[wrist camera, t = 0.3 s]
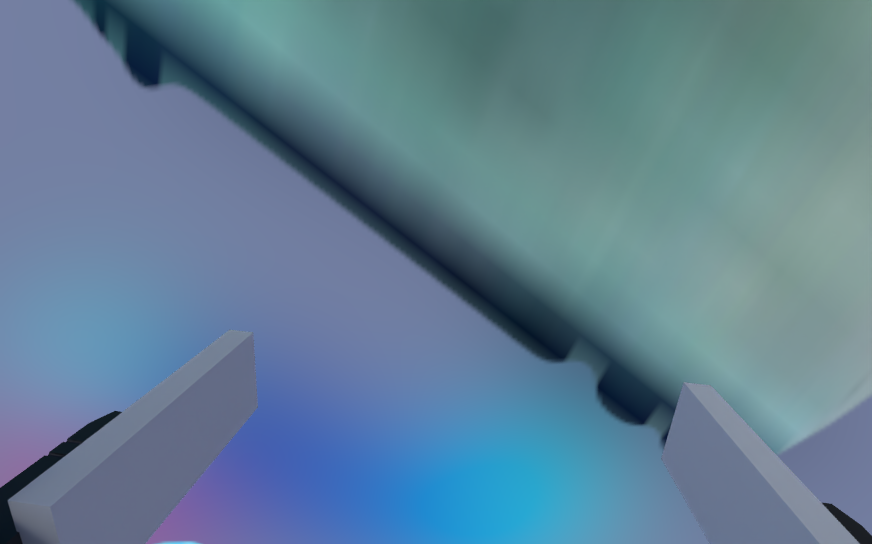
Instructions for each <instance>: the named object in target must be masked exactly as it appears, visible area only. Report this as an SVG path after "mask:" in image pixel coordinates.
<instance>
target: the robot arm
mask: <svg viewBox="0 0 872 544" xmlns="http://www.w3.org/2000/svg"><path fill="white" fill-rule="evenodd" d="M257 407H258V405H257V389H256V372H255V356H254V340H253V332H243V331H234V330H229V331H228V332H226V333H225V334H224V335H222V336H221V337H220V338H218V339H217V340H216V341H215V342H213V343H212V344H211V345H209V346H208V347H207V348H205V349H204V350H203V351H202V352H200V353H199V354H198V355H196V356H195V357H194V358H192V359H191V360H190V361H188V362H187V363H186V364H185V365H183V366H182V367H181V368H179V369H178V370H177V371H175V372H174V373H173V374H172V375H170V376H169V377H168V378H166V379H165V380H164V381H162V382H161V383H160V384H158V385H157V386H156V387H155V388H153V389H152V390H151V391H149V392H148V393H147V394H146V395H144V396H143V397H142V398H140V399H139V400H138V401H136V402H135V403H134V404H132V405H131V406H130V407H129V408H127V409H126V410H125V411H124V412H118V411H114V412H112V413H110V414H108V415H106V416H103V417H101V418H99V419H97V420H95V421H93V422H91V423H89V424H87V425H86V426H85V427H83V428H82V429H80V430H79V431H78V432H76V433H75V434H74V435H72V436H71V437H70V438H68V439H67V442H63V443H61V444H60V445H58V446H57V447H56V448H54V449H53V450H52V451H50V452H49V455H48V456H44V457H42V458H41V459H39V460H38V461H37V462H35V463H34V464H32V465H31V466H30V467H28V468H27V469H26V470H24V471H23V472H21V473H20V474H19V475H17V476H16V477H15V478H13V479H12V480H10V481H9V482H8V483H6V484H5V485H4V486H2V487H1V488H0V544H145V543H146V542H147V541H148V540H149V538H150V537H151V536H152V535H153V534H154V532H155V531H156V530H157V529H158V527H159V526H160V525H161V524H162V523H163V521H164V520H165V519H166V518H167V517H168V515H169V514H170V513H171V512H172V511H173V509H174V508H175V507H176V506H177V505H178V503H179V502H180V501H181V500H182V498H183V497H184V496H185V495H186V494H187V492H188V491H189V490H190V489H191V488H192V486H193V485H194V484H195V483H196V481H197V480H198V479H199V478H200V477H201V475H202V474H203V473H204V472H205V471H206V469H207V468H208V467H209V465H210V464H211V463H212V462H213V461H214V460H215V458H216V457H217V456H218V455H219V453H220V452H221V451H222V450H223V449H224V447H225V446H226V445H227V444H228V443H229V441H230V440H231V439H232V438H233V437H234V435H235V434H236V433H237V432H238V430H239V429H240V428H241V427H242V426H243V424H244V423H245V422H246V421H247V419H248V418H249V417H250V416H251V415H252V413H253V412H254V411H255V410H256V408H257ZM661 459H662V461H663V462H664V464H665V466H666V468H667V470H668V471H669V473H670V475H671V476H672V478H673V480H674V482H675V484H676V485H677V487H678V489H679V491H680V492H681V494H682V496H683V498H684V499H685V501H686V503H687V505H688V506H689V508H690V510H691V512H692V513H693V515H694V517H695V519H696V520H697V522H698V524H699V526H700V527H701V529H702V531H703V533H704V534H705V536H706V538H707V540H708V541H709V543H710V544H872V536H871V535H870V534H869V533H868V532H867V531H866V530H865V529H864V528H863V526H861V525H860V524H859V523H857V522H856V521H855V520H853V519H852V518H850V517H849V516H848V515H846V514H845V513H843V512H842V511H841V510H839V509H838V508H836V507H835V506H834V505H832V504H828V503H821V502H820V501H819V500H818V499H817V498H816V497H815V496H814V495H813V493H812V492H810V490H809V489H808V488H807V487H806V486H805V485H804V484H803V483H802V482H801V481H800V480H799V479H798V478H797V477H796V475H795V474H794V473H793V472H792V471H791V470H790V469H789V468H788V467H787V466H786V465H785V464H784V463H783V462H782V461H781V460H780V458H779V457H778V456H777V455H776V454H775V453H774V452H773V451H772V450H771V449H770V448H769V447H768V446H767V445H766V444H765V443H764V441H763V440H762V439H761V438H760V437H759V436H758V435H757V434H756V433H755V432H754V431H753V430H752V429H751V428H750V427H749V426H748V424H747V423H746V422H745V421H744V420H743V419H742V418H741V417H740V416H739V415H738V414H737V413H736V412H735V411H734V410H733V409H732V407H731V406H730V405H729V404H728V403H727V402H726V401H725V400H724V399H723V398H722V397H721V396H720V395H719V394H718V393H717V392H716V390H715V389H714V388H713V387H712V386H711V385H702V384H693V383H685V382H684V383H683V387H682V390H681V393H680V397H679V400H678V404H677V407H676V410H675V414H674V417H673V421H672V424H671V427H670V431H669V434H668V438H667V441H666V444H665V448H664V451H663V455H662V458H661Z"/></svg>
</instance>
